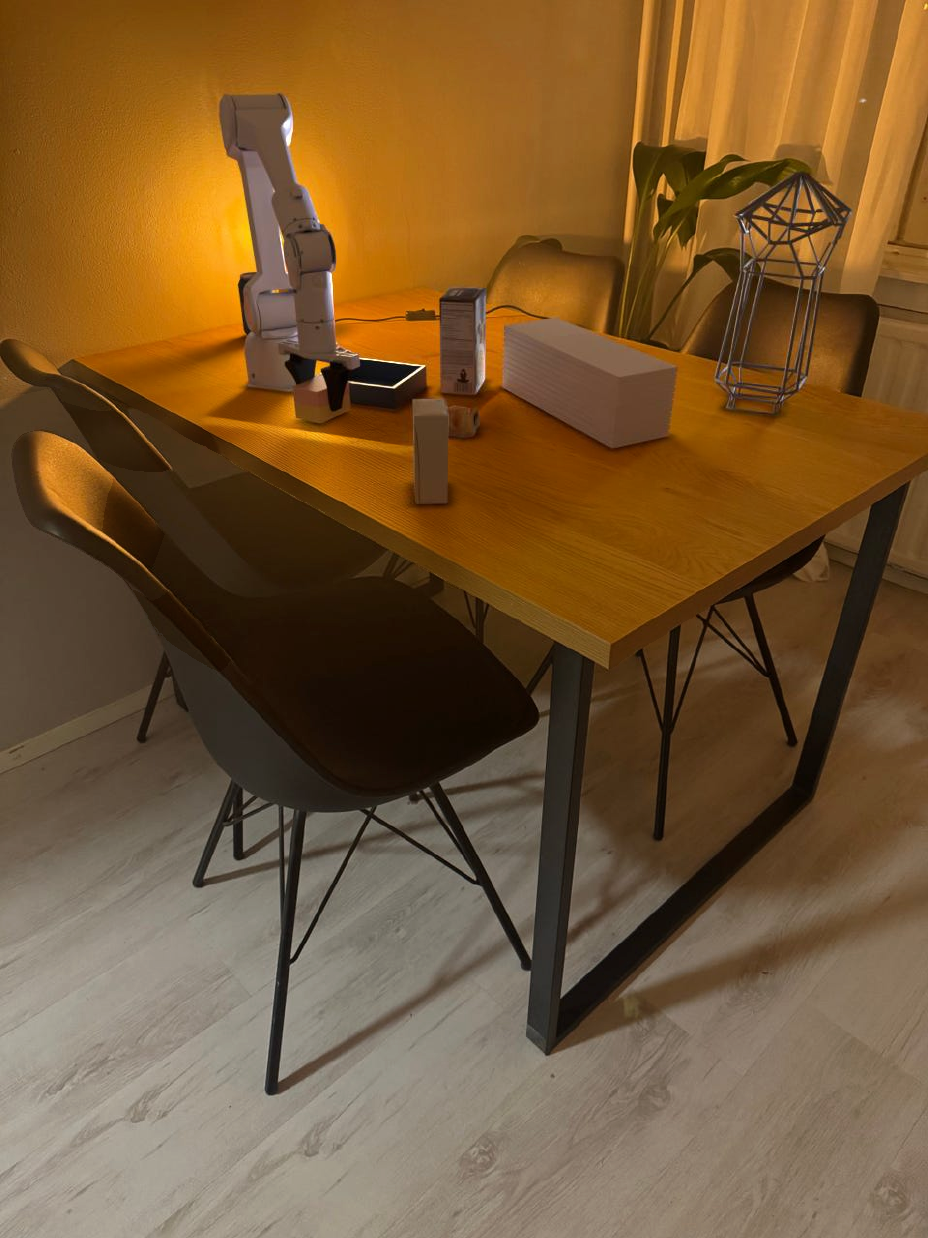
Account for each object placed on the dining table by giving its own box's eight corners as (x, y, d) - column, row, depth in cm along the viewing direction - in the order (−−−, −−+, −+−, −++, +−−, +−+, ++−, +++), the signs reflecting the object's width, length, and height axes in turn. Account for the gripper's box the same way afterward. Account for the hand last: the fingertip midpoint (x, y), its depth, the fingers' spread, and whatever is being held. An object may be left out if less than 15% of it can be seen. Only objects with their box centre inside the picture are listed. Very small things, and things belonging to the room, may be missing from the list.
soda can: (251, 330, 184) (243, 270, 178) (282, 331, 183) (276, 271, 177) (239, 339, 178) (231, 277, 172) (272, 340, 177) (265, 278, 171)
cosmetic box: (413, 485, 118) (411, 397, 112) (446, 484, 118) (445, 397, 112) (415, 505, 113) (412, 414, 106) (449, 504, 113) (449, 414, 107)
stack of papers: (502, 387, 153) (503, 324, 147) (553, 378, 157) (556, 317, 151) (611, 448, 129) (619, 377, 123) (668, 436, 134) (678, 366, 128)
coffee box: (450, 378, 157) (450, 285, 148) (485, 380, 156) (487, 287, 147) (439, 394, 150) (438, 297, 141) (476, 397, 149) (477, 299, 140)
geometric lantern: (719, 385, 154) (756, 163, 135) (812, 399, 148) (864, 168, 129) (698, 413, 142) (735, 173, 123) (798, 428, 136) (853, 180, 117)
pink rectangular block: (295, 417, 137) (292, 386, 135) (326, 404, 143) (323, 373, 140) (320, 423, 135) (317, 392, 132) (350, 409, 140) (348, 378, 138)
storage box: (313, 400, 147) (311, 377, 145) (349, 377, 157) (348, 356, 155) (395, 411, 142) (394, 388, 140) (426, 387, 153) (426, 365, 151)
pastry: (414, 434, 134) (413, 410, 132) (425, 420, 139) (424, 396, 137) (474, 439, 132) (474, 415, 130) (482, 424, 138) (483, 401, 136)
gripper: (370, 319, 130) (374, 407, 138) (296, 306, 137) (304, 391, 144) (340, 329, 125) (347, 420, 133) (265, 315, 132) (275, 403, 139)
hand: (323, 406), depth 138 cm, fingers closed on pink rectangular block, 5 cm apart
